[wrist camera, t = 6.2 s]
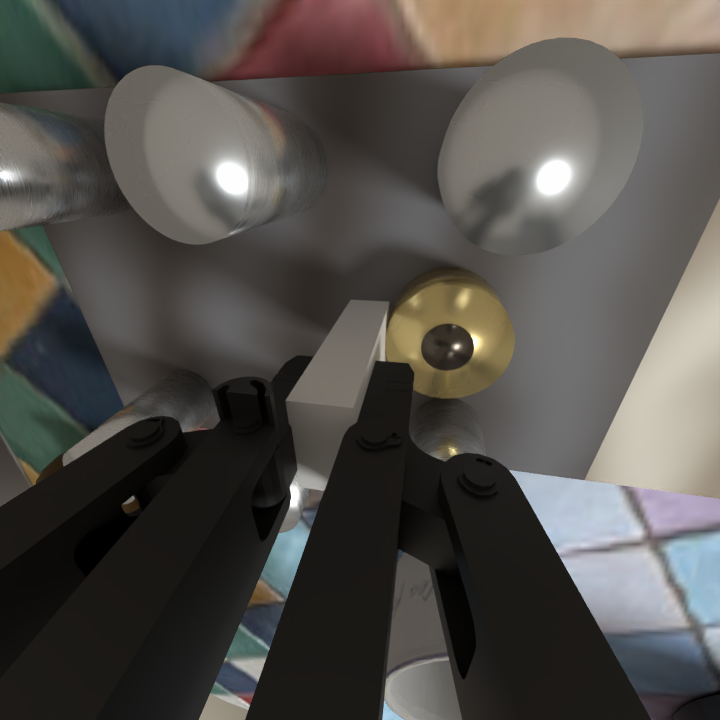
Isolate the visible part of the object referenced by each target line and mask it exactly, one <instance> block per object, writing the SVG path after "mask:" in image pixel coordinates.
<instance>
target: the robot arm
mask: <svg viewBox="0 0 720 720" xmlns="http://www.w3.org/2000/svg"><path fill="white" fill-rule="evenodd" d="M389 304H390V302H388V301H368V300H350V302H349V303H348V305H347V306H346V308H345V309H344V311H343V312H342V314H341V316H340V317H339V319H338V320H337V322H336V323H335V325H334V326H333V328H332V329H331V331H330V333H329V334H328V336H327V337H326V339H325V340H324V342H323V343H322V345H321V346H320V348H319V350H318V351H317V353H316V354H315V356H302V355H297V356H295V357H294V358H292V359H290V360H289V361H287V362H286V363H285V364H284V365H283V366H282V368H281V369H280V370H279V371H278V374H276V375H275V377H274V378H273V379H272V382H268V381H267V380H265V379H263V378H259V377H255V376H254V377H239V378H235V379H231V380H228V381H226V382H224V383H221V384H219V385H218V386H217V387H215V388H214V389H213V390H212V393H213V397H214V400H215V404H216V407H217V411H218V414H219V418H220V421H219V423H218V424H217V425H216V426H215V427H214V428H213V429H208V430H199V431H190V432H182V429H181V426H180V423H179V421H177V420H176V419H174V418H173V417H167V416H157V417H150V418H147V419H144V420H140V421H138V422H136V423H134V424H132V425H130V426H128V427H126V428H124V429H123V430H121V431H120V432H118V433H116V434H115V435H113V436H112V437H110V438H108V439H107V440H105V441H104V442H102V443H101V444H99V445H97V446H96V447H94V448H93V449H91V450H89V451H88V452H86V453H85V454H83V455H82V456H80V457H78V458H77V459H75V460H74V461H72V462H70V463H69V464H67V465H66V466H64V467H63V468H61V469H59V470H58V471H56V472H55V473H53V474H51V475H50V476H48V477H47V478H45V479H44V480H42V481H40V482H39V483H37V484H36V485H34V486H32V487H31V488H29V489H28V490H26V491H25V492H23V493H21V494H20V495H18V496H17V497H15V498H13V499H12V500H10V501H9V502H7V503H6V504H4V505H2V506H1V507H0V720H199V717H200V715H201V713H202V710H203V708H204V706H205V704H206V701H207V699H208V696H209V694H210V692H211V690H212V687H213V685H214V683H215V680H216V678H217V676H218V673H219V671H220V669H221V666H222V664H223V662H224V659H225V657H226V655H227V652H228V650H229V648H230V645H231V643H232V640H233V638H234V636H235V633H236V631H237V629H238V626H239V624H240V622H241V619H242V617H243V615H244V612H245V610H246V608H247V605H248V603H249V601H250V598H251V596H252V594H253V591H254V589H255V587H256V584H257V582H258V580H259V577H260V575H261V573H262V570H263V568H264V566H265V563H266V561H267V559H268V556H269V554H270V552H271V549H272V547H273V545H274V542H275V540H276V538H277V535H278V533H279V531H280V528H281V526H282V524H283V521H284V519H285V517H286V514H287V512H288V510H289V507H290V503H291V498H292V497H291V492H290V485H291V483H292V481H293V479H294V477H295V474H296V472H297V479H298V485H299V487H302V488H309V489H315V490H321V491H324V494H323V497H322V500H321V502H320V505H319V508H318V511H317V514H316V517H315V520H314V523H313V526H312V528H311V531H310V534H309V537H308V540H307V543H306V546H305V549H304V552H303V554H302V557H301V560H300V563H299V566H298V569H297V572H296V575H295V578H294V580H293V583H292V586H291V589H290V592H289V595H288V598H287V601H286V604H285V606H284V609H283V612H282V615H281V618H280V621H279V624H278V627H277V629H276V632H275V635H274V638H273V641H272V644H271V647H270V650H269V653H268V655H267V658H266V661H265V664H264V667H263V670H262V673H261V676H260V679H259V681H258V684H257V687H256V690H255V693H254V696H253V699H252V702H251V705H250V707H249V710H248V713H247V716H246V719H245V720H382V716H383V706H384V696H385V685H386V675H387V665H388V654H389V644H390V634H391V623H392V613H393V603H394V592H395V582H396V572H397V562H398V551H399V549H400V550H402V551H403V552H405V553H407V554H409V555H411V556H413V557H414V558H416V559H418V560H420V561H422V562H423V563H425V564H427V565H429V570H430V575H431V579H432V584H433V588H434V593H435V597H436V602H437V607H438V611H439V616H440V620H441V625H442V630H443V634H444V639H445V643H446V648H447V653H448V657H449V662H450V666H451V671H452V675H453V680H454V685H455V689H456V694H457V698H458V703H459V708H460V712H461V717H462V720H651V718H650V717H649V715H648V713H647V711H646V710H645V708H644V706H643V704H642V703H641V701H640V699H639V697H638V695H637V694H636V692H635V690H634V688H633V687H632V685H631V683H630V681H629V679H628V678H627V676H626V674H625V672H624V671H623V669H622V667H621V665H620V663H619V662H618V660H617V658H616V656H615V655H614V653H613V651H612V649H611V647H610V646H609V644H608V642H607V640H606V639H605V637H604V635H603V633H602V632H601V630H600V628H599V626H598V624H597V623H596V621H595V619H594V617H593V616H592V614H591V612H590V610H589V608H588V607H587V605H586V603H585V601H584V600H583V598H582V596H581V594H580V592H579V591H578V589H577V587H576V585H575V584H574V582H573V580H572V578H571V576H570V575H569V573H568V571H567V569H566V568H565V566H564V564H563V562H562V560H561V559H560V557H559V555H558V553H557V552H556V550H555V548H554V546H553V545H552V543H551V541H550V539H549V537H548V536H547V534H546V532H545V530H544V529H543V527H542V525H541V523H540V521H539V520H538V518H537V516H536V514H535V513H534V511H533V509H532V507H531V505H530V504H529V502H528V500H527V498H526V497H525V495H524V493H523V491H522V489H521V488H520V486H519V484H518V482H517V481H516V479H515V477H514V476H513V475H512V474H511V473H510V471H509V470H508V469H507V468H506V467H505V466H503V465H502V464H501V463H499V462H498V461H496V460H495V459H492V458H490V457H487V456H484V455H481V454H474V453H463V454H458V455H454V456H453V457H451V458H450V459H448V460H447V461H443V460H440V459H437V458H435V457H433V456H431V455H429V454H427V453H425V452H423V451H422V450H421V449H419V448H418V447H417V446H416V445H415V443H414V442H413V441H412V439H411V437H410V434H409V433H410V422H411V411H412V399H413V386H414V371H413V370H412V368H411V366H410V365H409V363H400V362H388V359H387V356H386V351H385V337H386V332H387V328H388V325H389ZM132 496H134V498H135V500H136V502H137V504H138V506H139V508H138V509H137V510H135V511H133V512H132V513H125V512H124V510H123V508H122V506H121V505H122V504H123V503H125V502H126V501H127V500H128V499H130V498H131V497H132ZM672 720H720V694H719V695H714V696H710V697H706V698H702V699H699V700H696V701H694V702H691V703H689V704H687V705H685V706H683V707H682V708H680V709H679V710H678V711H677V712H676V713H675V714H674V716H673V719H672Z"/></svg>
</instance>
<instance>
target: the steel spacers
mask: <svg viewBox="0 0 720 720" xmlns="http://www.w3.org/2000/svg"><path fill="white" fill-rule="evenodd" d="M642 133H643V109H642V100H641V97H640V93H639V89H638V86H637V84H636V82H635V80H634V78H633V75H632V74H631V72H630V71H629V69H628V68H627V67H626V65H625V64H624V62H623V61H621V60H620V59H619V58H618V57H617V56H616V55H615V54H614V53H613V52H611V51H610V50H608V49H606V48H605V47H603V46H601V45H599V44H596V43H594V42H591V41H588V40H583V39H578V38H555V39H549V40H543V41H540V42H537V43H533V44H530V45H528V46H526V47H523V48H521V49H519V50H517V51H515V52H513V53H512V54H510V55H508V56H507V57H505V58H503V59H502V60H500V61H499V62H498V63H497V64H495V65H494V66H493V67H492V68H490V69H489V70H488V71H487V72H486V73H485V74H484V75H483V76H482V77H481V78H480V79H479V80H478V81H477V82H476V83H475V84H474V85H473V87H472V88H471V89H470V90H469V92H468V93H467V94H466V95H465V97H464V99H463V100H462V102H461V103H460V105H459V106H458V108H457V110H456V112H455V114H454V116H453V118H452V119H451V121H450V124H449V127H448V129H447V132H446V134H445V137H444V140H443V143H442V146H441V149H440V153H439V156H438V161H437V181H438V186H439V190H440V193H441V197H442V201H443V204H444V206H445V209H446V212H447V214H448V216H449V218H450V220H451V221H452V223H453V224H454V226H455V227H456V228H457V230H458V231H459V232H460V233H461V234H462V235H463V236H464V237H465V238H466V239H468V240H469V241H470V242H472V243H473V244H475V245H476V246H478V247H480V248H482V249H484V250H487V251H489V252H493V253H497V254H501V255H510V256H523V255H530V254H537V253H540V252H544V251H548V250H550V249H553V248H555V247H558V246H560V245H562V244H564V243H566V242H568V241H570V240H572V239H573V238H575V237H576V236H578V235H579V234H581V233H582V232H584V231H585V230H586V229H587V228H589V227H590V226H591V225H592V224H594V223H595V222H596V221H597V220H598V219H599V218H600V217H601V216H602V215H603V214H604V213H605V212H606V211H607V209H608V208H609V207H610V206H611V205H612V203H613V202H614V201H615V199H616V198H617V197H618V195H619V194H620V192H621V191H622V189H623V187H624V186H625V184H626V182H627V180H628V178H629V176H630V174H631V172H632V170H633V167H634V165H635V162H636V159H637V156H638V152H639V149H640V145H641V139H642ZM327 174H328V165H327V157H326V153H325V150H324V147H323V144H322V142H321V140H320V138H319V136H318V135H317V133H316V132H315V131H314V129H313V128H312V127H311V126H310V125H309V124H308V123H307V122H306V121H304V120H303V119H301V118H300V117H298V116H296V115H293V114H291V113H288V112H285V111H283V110H280V109H278V108H275V107H272V106H270V105H267V104H265V103H262V102H260V101H257V100H254V99H252V98H249V97H247V96H244V95H241V94H239V93H236V92H234V91H231V90H228V89H226V88H223V87H221V86H218V85H215V84H213V83H210V82H208V81H205V80H203V79H200V78H197V77H195V76H192V75H190V74H187V73H184V72H182V71H179V70H177V69H174V68H171V67H166V66H160V65H150V66H144V67H140V68H138V69H135V70H133V71H131V72H130V73H128V74H127V75H125V76H124V77H123V78H122V79H121V80H120V81H119V83H118V84H117V85H116V87H115V88H114V90H113V92H112V94H111V96H110V98H109V101H108V105H107V108H106V114H105V118H98V117H92V116H85V115H79V114H72V113H66V112H59V111H52V110H46V109H39V108H33V107H26V106H20V105H13V104H7V103H0V231H6V230H13V229H20V228H27V227H34V226H41V225H48V224H55V223H62V222H69V221H76V220H82V219H89V218H96V217H103V216H110V215H117V214H124V213H131V212H137V213H138V214H139V215H140V216H141V217H142V218H143V219H144V220H145V221H146V222H147V223H148V224H149V225H150V226H151V227H153V228H154V229H155V230H157V231H158V232H160V233H161V234H163V235H165V236H167V237H169V238H170V239H173V240H176V241H178V242H182V243H186V244H193V245H200V244H207V243H212V242H215V241H218V240H221V239H224V238H227V237H230V236H233V235H236V234H239V233H242V232H245V231H248V230H251V229H254V228H257V227H260V226H263V225H266V224H269V223H272V222H275V221H278V220H281V219H284V218H287V217H290V216H293V215H296V214H299V213H302V212H304V211H306V210H308V209H310V208H311V207H312V206H313V205H314V204H315V203H316V202H317V201H318V200H319V198H320V197H321V195H322V193H323V191H324V188H325V185H326V181H327ZM212 390H213V388H212V387H211V385H210V384H209V383H208V382H207V381H206V380H205V379H204V378H202V377H201V376H199V375H198V374H196V373H194V372H191V371H188V370H183V369H178V370H173V371H171V372H170V373H168V374H167V375H166V376H164V377H163V378H162V379H160V380H159V381H158V382H156V383H155V384H154V385H153V386H151V387H150V388H149V389H147V390H146V391H145V392H143V393H142V394H141V395H140V396H138V397H137V398H136V399H134V400H133V401H132V402H130V403H129V404H128V405H127V406H125V407H124V408H123V409H121V410H120V411H119V412H117V413H116V414H115V415H114V416H112V417H111V418H110V419H108V420H107V421H106V422H104V423H103V424H102V425H101V426H99V427H98V428H97V429H95V430H94V431H93V432H91V433H90V434H89V435H88V436H86V437H85V438H84V439H82V440H81V441H80V442H79V443H77V444H76V445H75V446H73V447H72V448H71V449H69V450H68V451H67V452H66V453H65V454H64V455H63V459H62V460H63V466H66V465H67V464H69V463H70V462H72V461H74V460H75V459H77V458H78V457H80V456H82V455H83V454H85V453H86V452H88V451H89V450H91V449H93V448H94V447H96V446H97V445H99V444H101V443H102V442H104V441H105V440H107V439H108V438H110V437H112V436H113V435H115V434H116V433H118V432H120V431H121V430H123V429H124V428H126V427H128V426H130V425H132V424H134V423H136V422H138V421H140V420H144V419H147V418H150V417H157V416H167V417H173V418H174V419H176V420H177V421H179V423H180V426H181V429H182V432H190V431H197V430H198V428H199V427H200V426H201V425H202V424H203V423H204V422H205V421H206V420H207V419H208V417H209V416H210V415H211V414H212V413H213V412H214V411H215V409H216V404H215V400H214V397H213V393H212ZM411 439H412V441H413V442H414V443H415V445H416V446H417V447H418V448H419V449H421V450H422V451H423V452H425V453H427V454H429V455H431V456H433V457H435V458H437V459H440V460H443V461H447V460H448V459H450V458H451V457H453V456H454V455H458V454H463V453H474V454H481V455H484V456H486V453H485V447H484V442H483V436H482V431H481V425H480V420H479V417H478V414H477V413H476V411H475V410H474V409H473V408H472V407H471V406H470V405H469V404H467V403H465V402H464V401H461V400H459V399H455V398H450V399H449V398H435V399H432V400H429V401H427V402H425V403H424V404H422V405H421V406H420V407H419V408H418V409H417V410H416V412H415V414H414V417H413V424H412V436H411ZM310 490H311V489H309V488H302V487H299V485H298V479H297V472H296V474H295V477H294V479H293V481H292V483H291V485H290V492H291V497H292V498H291V503H290V507H289V510H288V512H287V514H286V517H285V519H284V521H283V524H282V526H281V528H280V531H279V533H282V532H286V531H289V530H291V529H293V528H294V527H295V526H296V525H297V523H298V521H299V519H300V516H301V513H302V511H303V508H304V506H305V503H306V500H307V498H308V495H309V493H310ZM134 499H135V498H134V496H132V497H131V498H130V499H128V500H127V501H126V502H125V503H123V504H128V503H130V502H132V501H133V500H134Z"/></svg>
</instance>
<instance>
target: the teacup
mask: <svg viewBox="0 0 720 720" xmlns="http://www.w3.org/2000/svg"><path fill="white" fill-rule="evenodd" d="M384 700H385V702H386V704H387V705H388V706H389V707H390V708H391V710H392V711H394V712H395V713H396V714H397V715H399V716H400V717H401V718H403V719H404V720H462V717H461V712H460V708H459V703H458V698H457V694H456V689H455V685H454V680H453V675H452V671H451V666H450V662H449V657H448V653H447V648H446V643H445V639H444V634H443V630H442V625H441V620H440V616H439V611H438V607H437V602H436V597H435V593H434V588H433V584H432V579H431V575H430V570H429V565H427V564H425V563H423V562H422V561H420V560H418V559H416V558H414V557H413V556H411V555H409V554H407V553H405V552H404V553H403V554H402V556H401V557H400V559H399V561H398V563H397V572H396V582H395V592H394V603H393V613H392V623H391V634H390V644H389V654H388V665H387V675H386V685H385V696H384Z"/></svg>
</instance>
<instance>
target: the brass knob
mask: <svg viewBox="0 0 720 720" xmlns="http://www.w3.org/2000/svg"><path fill="white" fill-rule="evenodd" d="M514 345H515V335H514V330H513V326H512V323H511V321H510V319H509V317H508V315H507V313H506V311H505V309H504V307H503V305H502V303H501V301H500V299H499V297H498V295H497V293H496V292H495V290H494V289H493V287H492V286H491V285H490V284H489V283H488V282H487V281H486V280H485V279H483V278H482V277H481V276H479V275H477V274H475V273H473V272H471V271H468V270H465V269H460V268H451V267H449V268H439V269H434V270H431V271H428V272H425V273H423V274H421V275H419V276H418V277H416V278H415V279H413V280H412V281H411V282H410V283H408V284H407V285H406V286H405V288H404V289H403V290H402V291H401V293H400V294H399V296H398V298H397V300H396V302H395V305H394V308H393V311H392V315H391V318H390V321H389V325H388V328H387V332H386V337H385V351H386V356H387V359H388V362H400V363H409V365H410V366H411V368H412V370H413V371H414V386H413V390H415V391H417V392H419V393H421V394H424V395H427V396H431V397H436V398H449V399H450V398H460V397H465V396H469V395H472V394H475V393H477V392H479V391H481V390H483V389H485V388H487V387H488V386H490V385H491V384H492V383H494V382H495V381H496V380H497V379H498V378H499V377H500V376H501V375H502V374H503V372H504V371H505V370H506V368H507V366H508V365H509V363H510V360H511V358H512V355H513V351H514Z"/></svg>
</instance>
